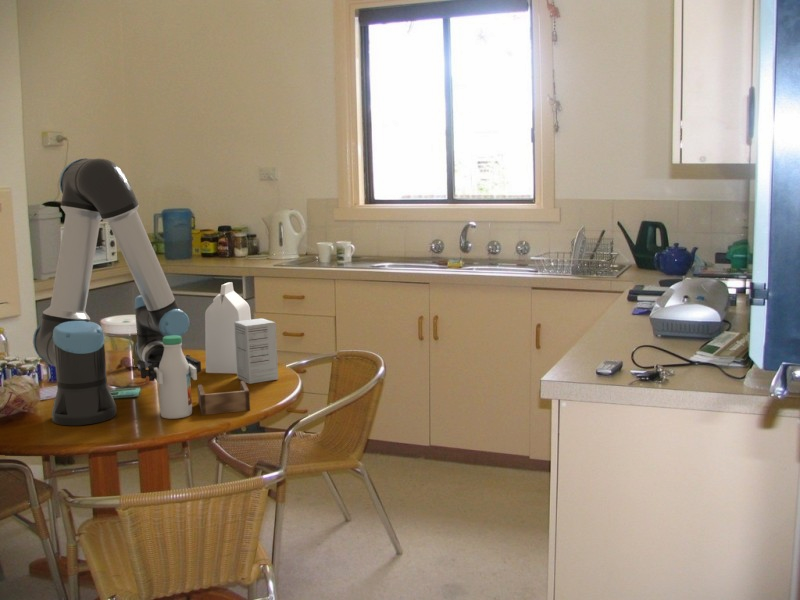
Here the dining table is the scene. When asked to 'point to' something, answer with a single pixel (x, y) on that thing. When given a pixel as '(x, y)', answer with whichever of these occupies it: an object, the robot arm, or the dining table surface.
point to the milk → (223, 329)
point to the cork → (135, 357)
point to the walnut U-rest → (224, 401)
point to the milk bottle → (174, 380)
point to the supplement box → (256, 350)
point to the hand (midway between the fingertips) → (178, 376)
